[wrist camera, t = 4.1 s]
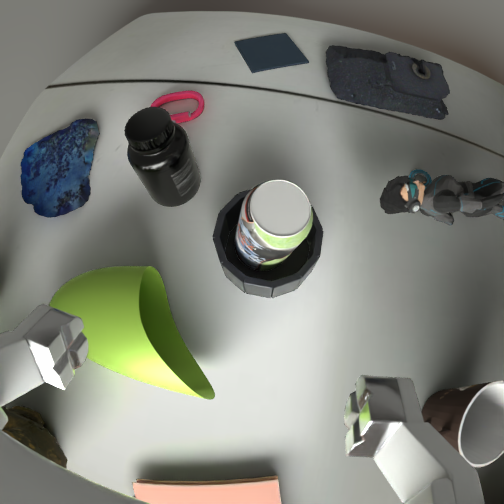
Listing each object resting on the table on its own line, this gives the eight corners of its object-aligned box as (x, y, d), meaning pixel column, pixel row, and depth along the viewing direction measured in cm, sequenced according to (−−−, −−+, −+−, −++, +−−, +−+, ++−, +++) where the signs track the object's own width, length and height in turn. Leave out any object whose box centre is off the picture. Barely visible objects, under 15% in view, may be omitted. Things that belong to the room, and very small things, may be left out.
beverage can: (245, 216, 38) (239, 156, 26) (306, 235, 37) (325, 180, 25) (226, 266, 36) (212, 221, 25) (290, 286, 35) (305, 250, 24)
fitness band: (150, 128, 43) (147, 121, 41) (153, 101, 45) (150, 95, 43) (204, 119, 43) (203, 112, 41) (204, 93, 45) (203, 86, 43)
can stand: (294, 197, 38) (298, 175, 34) (328, 278, 35) (338, 265, 30) (209, 223, 38) (202, 204, 33) (236, 310, 34) (233, 302, 30)
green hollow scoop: (210, 266, 26) (33, 255, 29) (203, 410, 25) (30, 368, 27) (228, 273, 34) (74, 263, 36) (222, 387, 32) (70, 359, 35)
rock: (102, 117, 44) (98, 110, 42) (92, 212, 39) (85, 206, 37) (32, 143, 44) (26, 137, 42) (15, 233, 38) (7, 228, 37)
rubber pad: (285, 34, 50) (285, 33, 50) (308, 63, 47) (308, 61, 47) (234, 43, 49) (234, 41, 49) (252, 73, 46) (252, 71, 46)
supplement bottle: (193, 155, 41) (174, 90, 29) (208, 197, 39) (189, 135, 27) (144, 173, 40) (112, 114, 29) (155, 216, 38) (119, 161, 27)
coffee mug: (478, 392, 30) (530, 394, 20) (449, 455, 27) (497, 473, 18) (412, 360, 32) (460, 357, 22) (378, 429, 29) (418, 449, 20)
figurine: (559, 205, 29) (408, 187, 27) (528, 241, 36) (377, 243, 34) (524, 153, 35) (371, 120, 33) (500, 189, 43) (352, 175, 40)
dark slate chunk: (320, 47, 48) (323, 27, 44) (428, 67, 48) (436, 50, 43) (329, 102, 44) (334, 80, 39) (453, 124, 43) (464, 106, 38)
